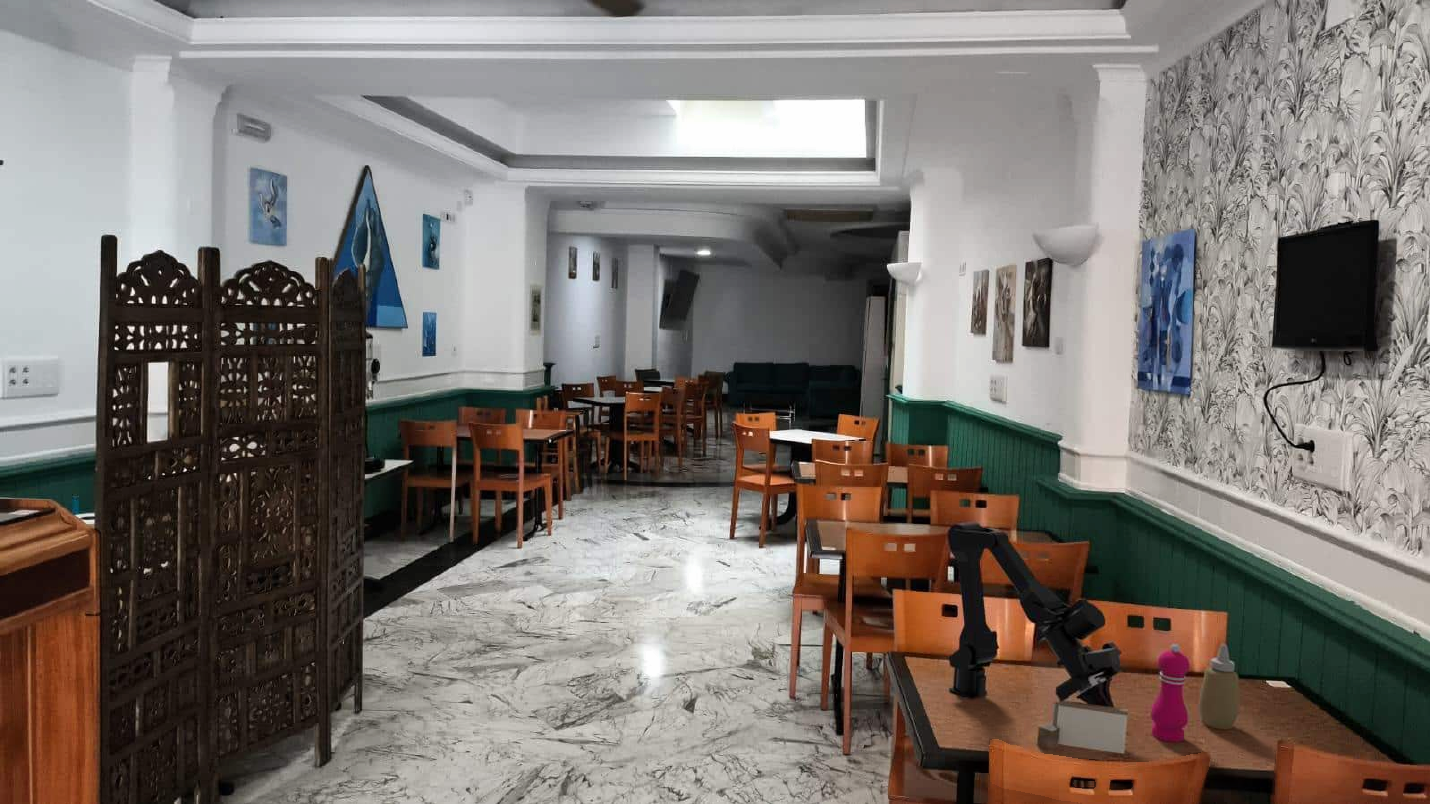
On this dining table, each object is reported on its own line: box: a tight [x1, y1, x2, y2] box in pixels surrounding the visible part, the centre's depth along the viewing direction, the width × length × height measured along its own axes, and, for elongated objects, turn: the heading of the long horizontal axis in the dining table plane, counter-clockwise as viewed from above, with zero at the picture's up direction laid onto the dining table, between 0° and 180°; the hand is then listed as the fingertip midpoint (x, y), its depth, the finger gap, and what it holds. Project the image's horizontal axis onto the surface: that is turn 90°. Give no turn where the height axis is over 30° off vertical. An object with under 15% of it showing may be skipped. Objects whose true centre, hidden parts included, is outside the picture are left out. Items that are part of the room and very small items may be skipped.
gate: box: [1052, 699, 1129, 754], centre depth 201 cm, size 1×14×9 cm, turn 74°
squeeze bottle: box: [1198, 643, 1240, 730], centre depth 217 cm, size 8×8×18 cm
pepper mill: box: [1150, 643, 1190, 743], centre depth 209 cm, size 7×7×20 cm
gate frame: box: [1036, 722, 1060, 751], centre depth 207 cm, size 3×19×4 cm, turn 132°
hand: (1114, 718), depth 201 cm, fingers closed
